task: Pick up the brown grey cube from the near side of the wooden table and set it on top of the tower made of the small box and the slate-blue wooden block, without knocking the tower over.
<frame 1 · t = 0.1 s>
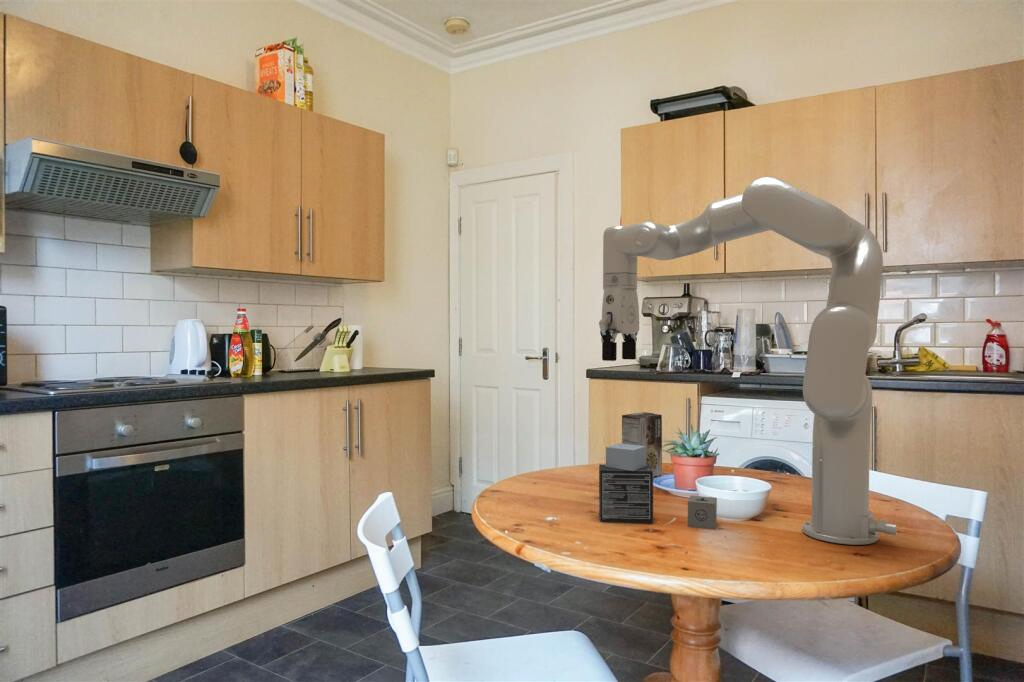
hand: (619, 359, 150), 31 cm above the table, tool pointing down, fingers open, 9 cm apart
coffee box: (641, 477, 175), on the table
brown grey cube: (702, 526, 132), on the table
small box: (625, 519, 136), on the table, touching slate block
slate block: (626, 466, 135), point 10 cm above the table, touching small box
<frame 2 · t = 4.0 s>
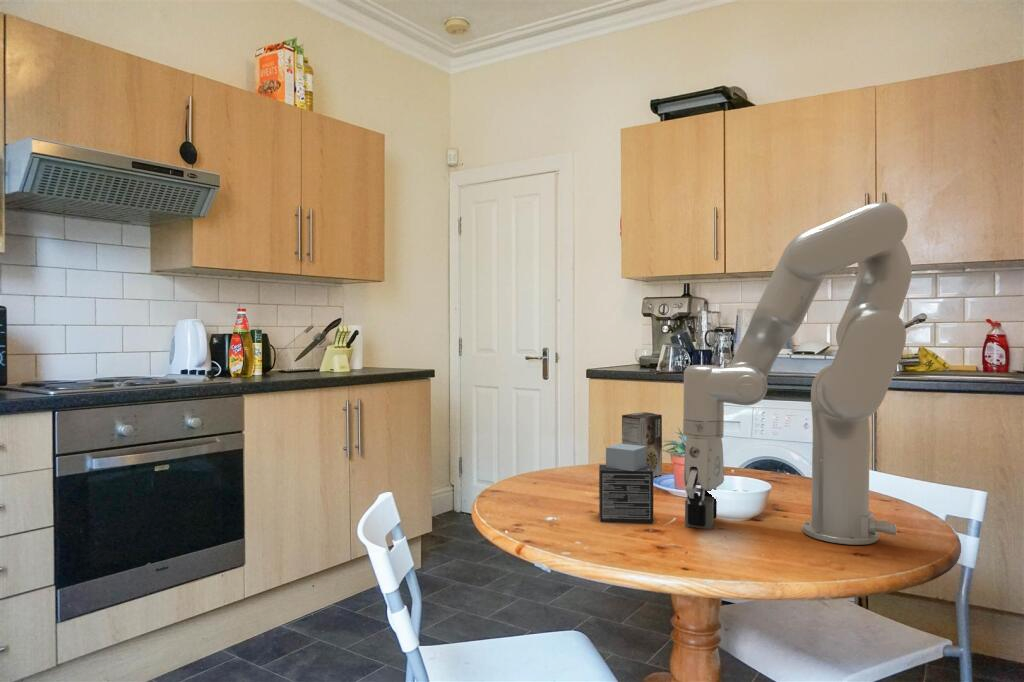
hand: (702, 520, 132), 1 cm above the table, tool pointing down, fingers closed on brown grey cube, 5 cm apart
brown grey cube: (699, 525, 132), on the table, touching gripper
everything else where it was.
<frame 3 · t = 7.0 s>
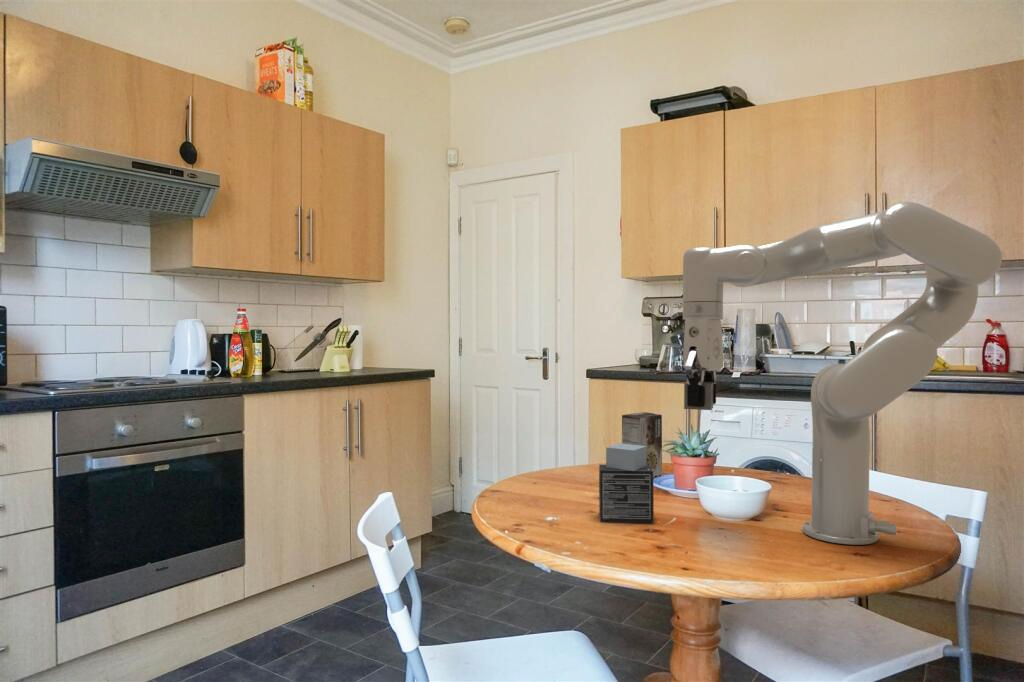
hand: (701, 404, 131), 23 cm above the table, tool pointing down, fingers closed on brown grey cube, 5 cm apart
brown grey cube: (698, 409, 132), point 22 cm above the table, touching gripper
everything else where it was.
when the fingers open (16 cm above the table, at t = 10.1 s): brown grey cube drops 1 cm, resting on slate block.
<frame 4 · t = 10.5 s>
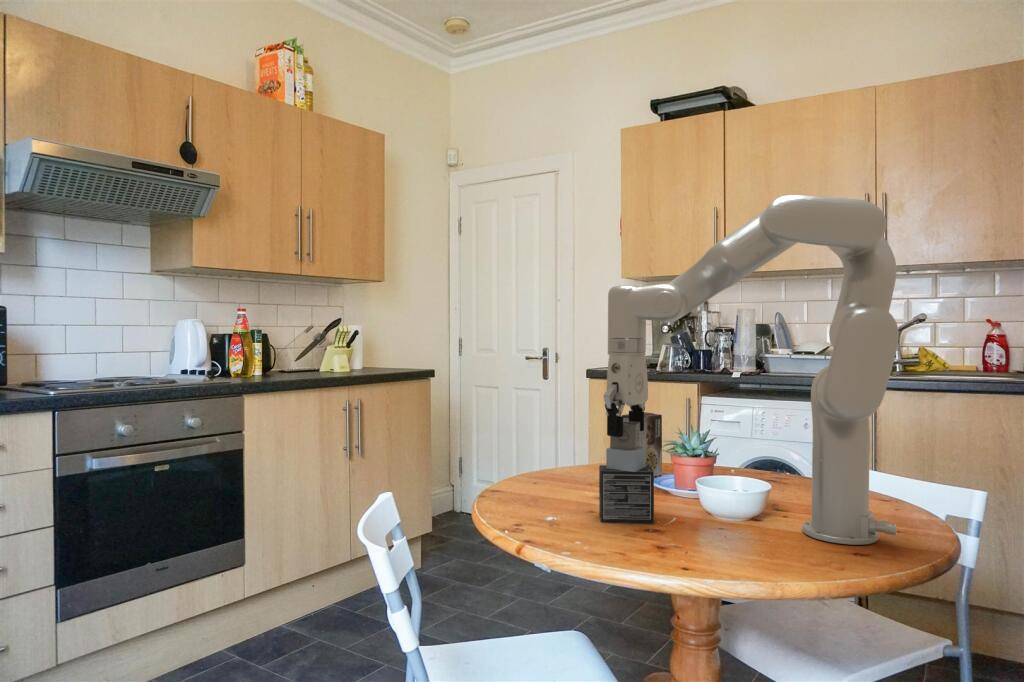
hand: (626, 433, 135), 17 cm above the table, tool pointing down, fingers open, 9 cm apart
brown grey cube: (625, 448, 136), point 14 cm above the table, touching slate block
slate block: (626, 467, 135), point 10 cm above the table, touching brown grey cube, small box
everything else where it was.
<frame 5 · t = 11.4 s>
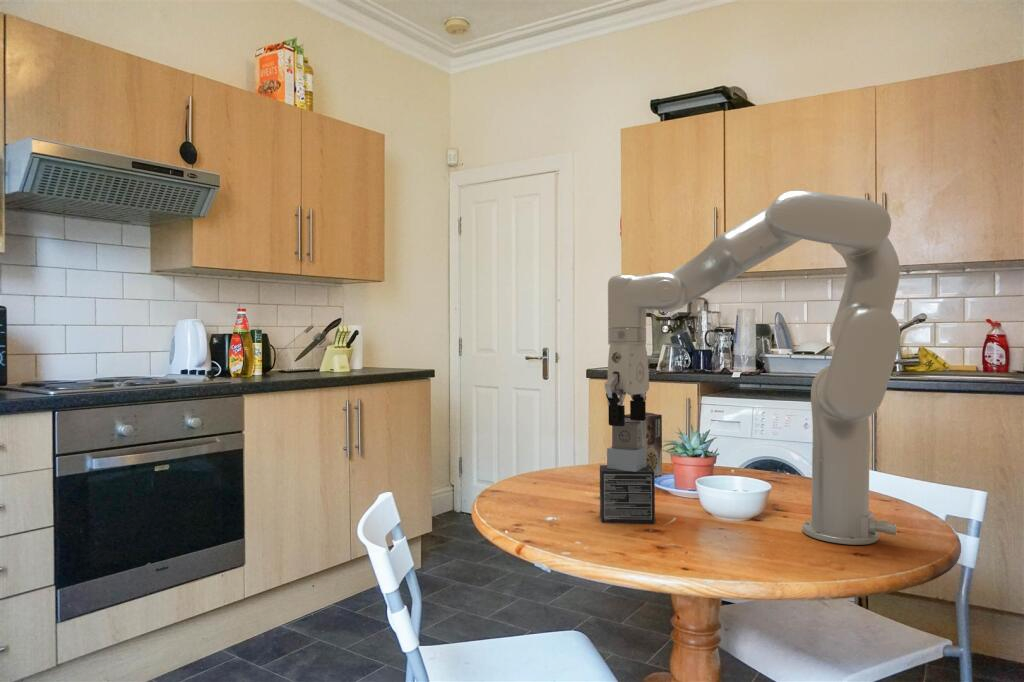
hand: (627, 422, 135), 19 cm above the table, tool pointing down, fingers open, 9 cm apart
nothing on the table moved.
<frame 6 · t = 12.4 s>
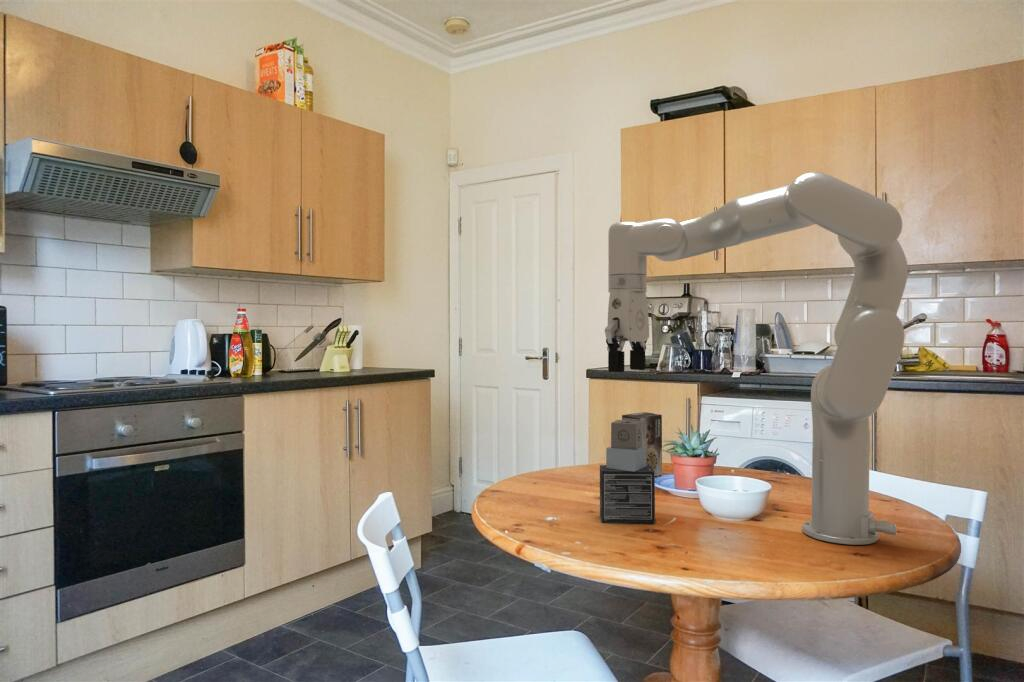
hand: (627, 370, 135), 30 cm above the table, tool pointing down, fingers open, 9 cm apart
nothing on the table moved.
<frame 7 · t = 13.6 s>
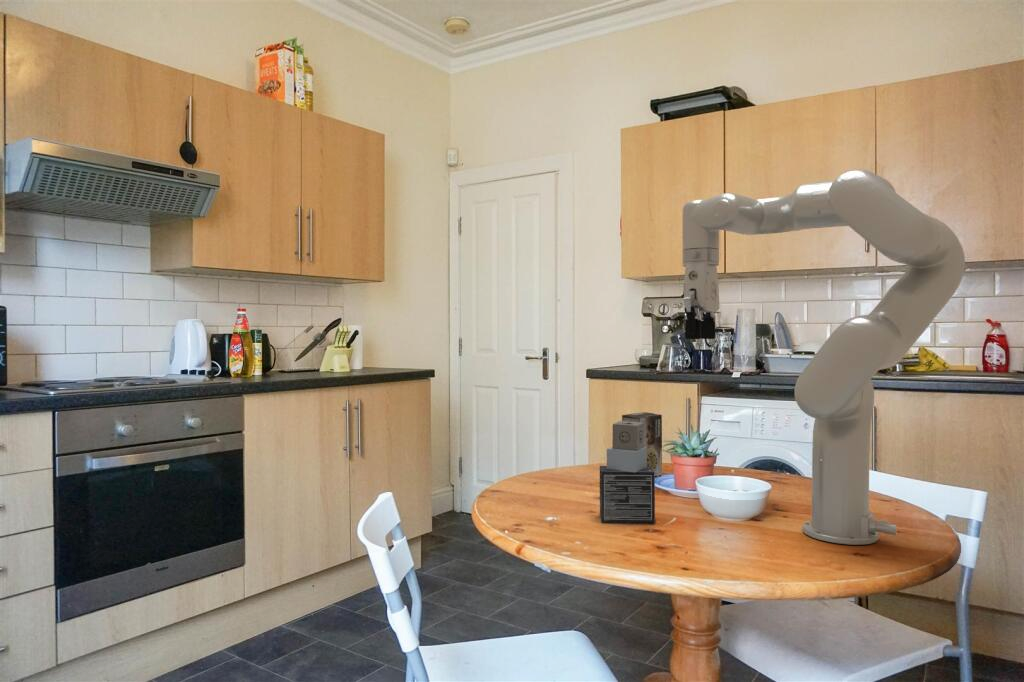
hand: (700, 338, 145), 36 cm above the table, tool pointing down, fingers open, 9 cm apart
nothing on the table moved.
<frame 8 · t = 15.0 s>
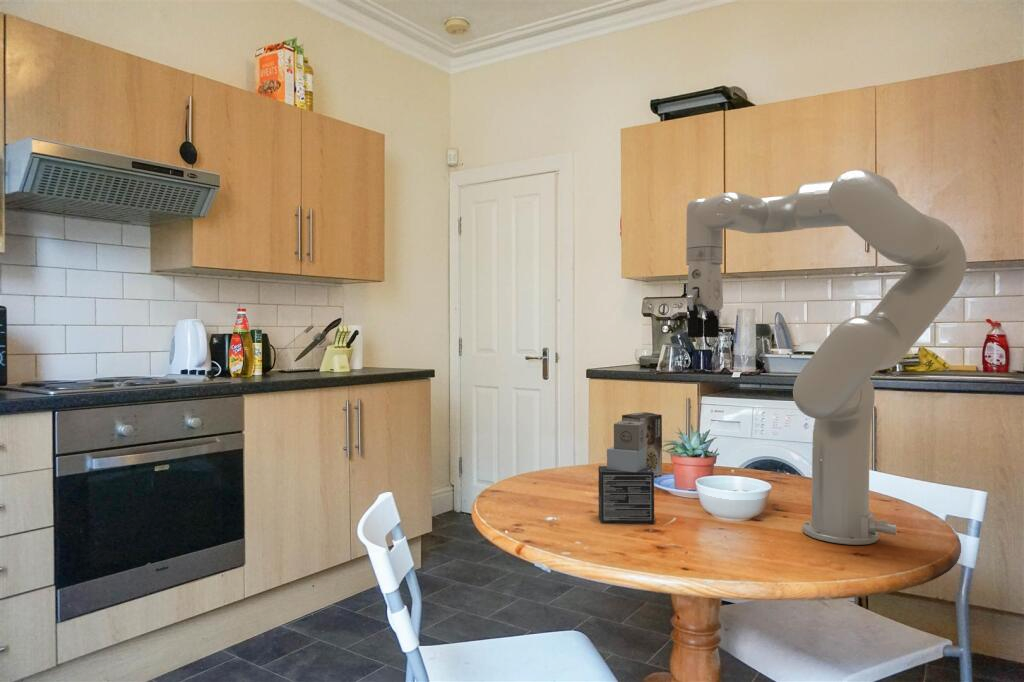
hand: (703, 337, 145), 36 cm above the table, tool pointing down, fingers open, 9 cm apart
nothing on the table moved.
at the end: brown grey cube 0.5 cm off-centre on the slate block, point 3.7 cm above the slate block's base; slate block 0.1 cm off-centre on the small box, point 10.6 cm above the small box's base; small box tilted 0° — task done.
